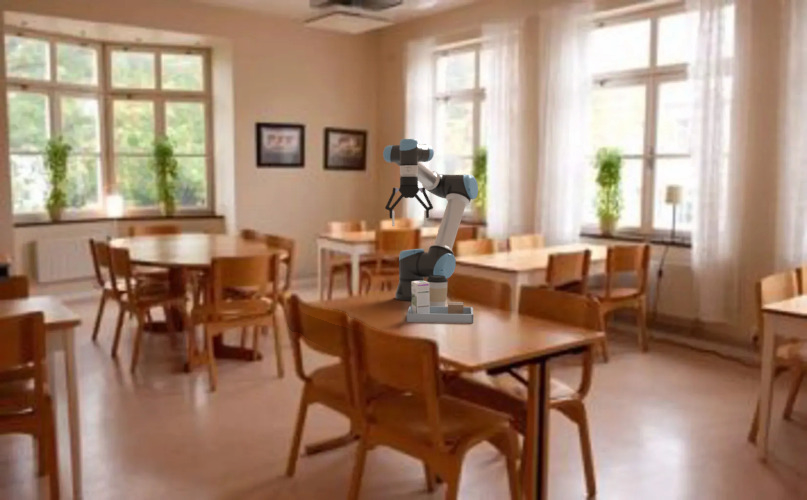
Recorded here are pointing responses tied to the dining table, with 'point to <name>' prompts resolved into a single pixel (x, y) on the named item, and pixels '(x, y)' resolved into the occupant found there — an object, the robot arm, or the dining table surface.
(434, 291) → the coffee cup
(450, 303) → the walnut block
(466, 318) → the tray
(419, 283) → the syrup box
